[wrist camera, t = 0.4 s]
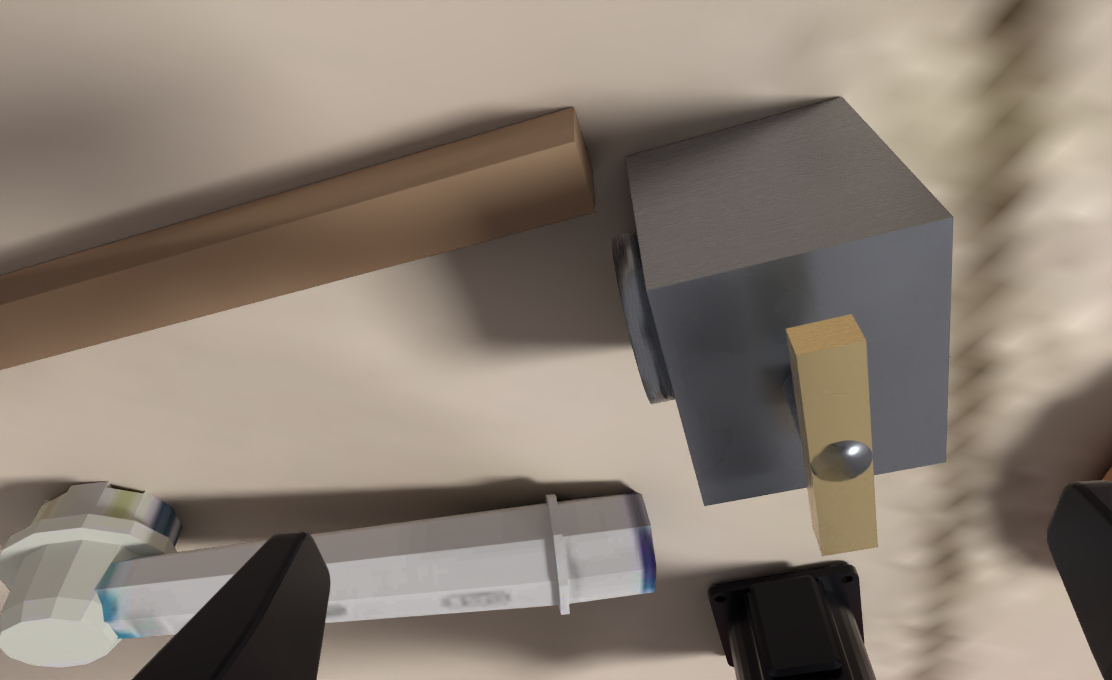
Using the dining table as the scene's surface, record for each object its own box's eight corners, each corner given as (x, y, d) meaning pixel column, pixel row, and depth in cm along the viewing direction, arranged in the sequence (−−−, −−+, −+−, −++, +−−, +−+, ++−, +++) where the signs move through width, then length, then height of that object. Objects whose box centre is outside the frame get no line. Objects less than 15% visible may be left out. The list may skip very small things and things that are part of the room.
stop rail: (593, 172, 21) (595, 212, 19) (-158, 379, 26) (-219, 427, 24) (573, 106, 20) (574, 141, 18) (-208, 336, 25) (-276, 383, 23)
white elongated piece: (654, 627, 28) (-14, 720, 26) (621, 497, 34) (63, 567, 32) (660, 543, 25) (-98, 642, 23) (623, 414, 30) (3, 486, 29)
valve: (855, 303, 23) (991, 542, 16) (650, 349, 25) (686, 591, 17) (842, 96, 19) (1016, 284, 12) (597, 164, 21) (614, 372, 13)
